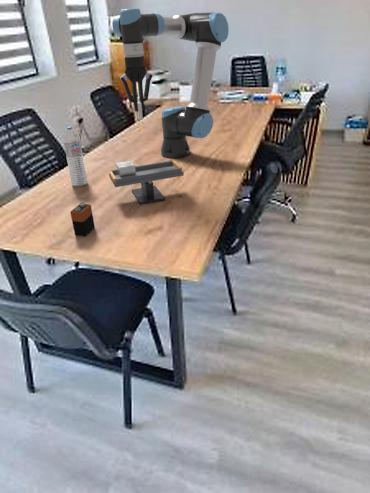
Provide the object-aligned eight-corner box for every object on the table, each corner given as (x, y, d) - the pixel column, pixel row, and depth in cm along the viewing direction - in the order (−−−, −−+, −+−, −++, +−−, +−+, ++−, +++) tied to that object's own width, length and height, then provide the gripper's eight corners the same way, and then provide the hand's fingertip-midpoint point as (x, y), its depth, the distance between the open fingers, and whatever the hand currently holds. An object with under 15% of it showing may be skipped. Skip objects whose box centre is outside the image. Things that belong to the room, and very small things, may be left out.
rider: (132, 172, 158) (131, 160, 156) (136, 177, 153) (134, 165, 151) (117, 175, 157) (115, 162, 154) (120, 180, 152) (119, 167, 149)
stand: (155, 188, 169) (153, 172, 166) (165, 200, 158) (163, 183, 154) (132, 192, 166) (130, 176, 163) (140, 205, 155) (138, 188, 151)
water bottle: (72, 188, 173) (60, 129, 160) (71, 182, 179) (60, 125, 166) (88, 186, 175) (78, 128, 162) (87, 180, 180) (77, 124, 168)
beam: (174, 168, 167) (173, 159, 165) (183, 178, 157) (183, 168, 155) (109, 179, 160) (108, 170, 157) (115, 190, 150) (114, 180, 148)
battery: (95, 227, 140) (90, 201, 135) (85, 237, 135) (80, 210, 130) (84, 226, 141) (79, 200, 136) (74, 235, 136) (68, 209, 131)
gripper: (119, 58, 148) (126, 123, 160) (153, 55, 151) (158, 119, 163) (115, 56, 154) (122, 119, 166) (148, 53, 157) (153, 115, 169)
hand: (140, 119), depth 164 cm, fingers closed
